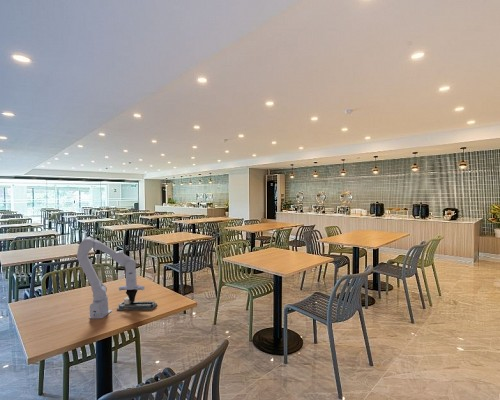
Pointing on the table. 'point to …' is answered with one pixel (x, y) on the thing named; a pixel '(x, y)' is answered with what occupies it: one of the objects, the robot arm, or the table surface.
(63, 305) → the table surface
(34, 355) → the table surface
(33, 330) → the table surface
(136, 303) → the console
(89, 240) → the robot arm
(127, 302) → the fader knob
